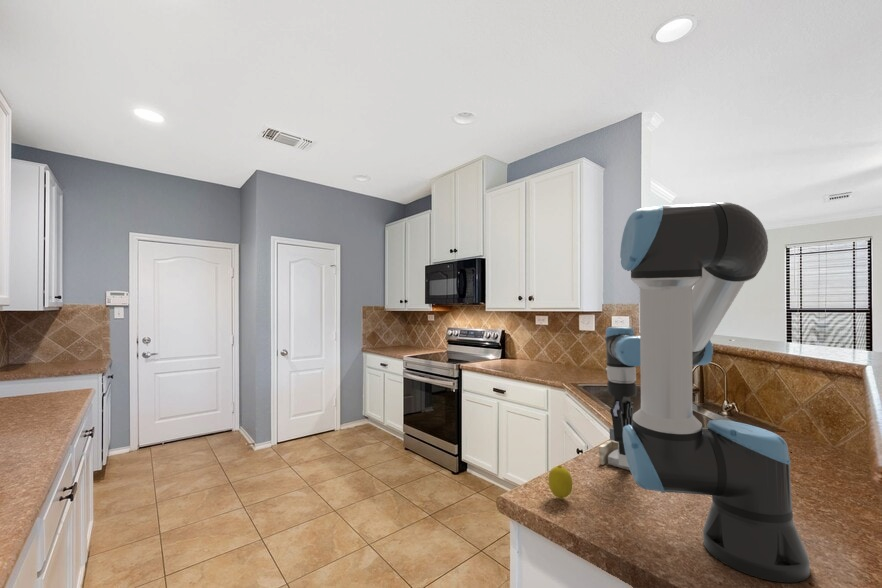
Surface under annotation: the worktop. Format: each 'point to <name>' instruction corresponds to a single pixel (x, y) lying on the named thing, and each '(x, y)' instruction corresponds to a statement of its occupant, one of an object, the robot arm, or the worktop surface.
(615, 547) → the worktop surface
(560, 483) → the lemon
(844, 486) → the worktop surface
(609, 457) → the grey stone block
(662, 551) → the worktop surface
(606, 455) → the cradle
